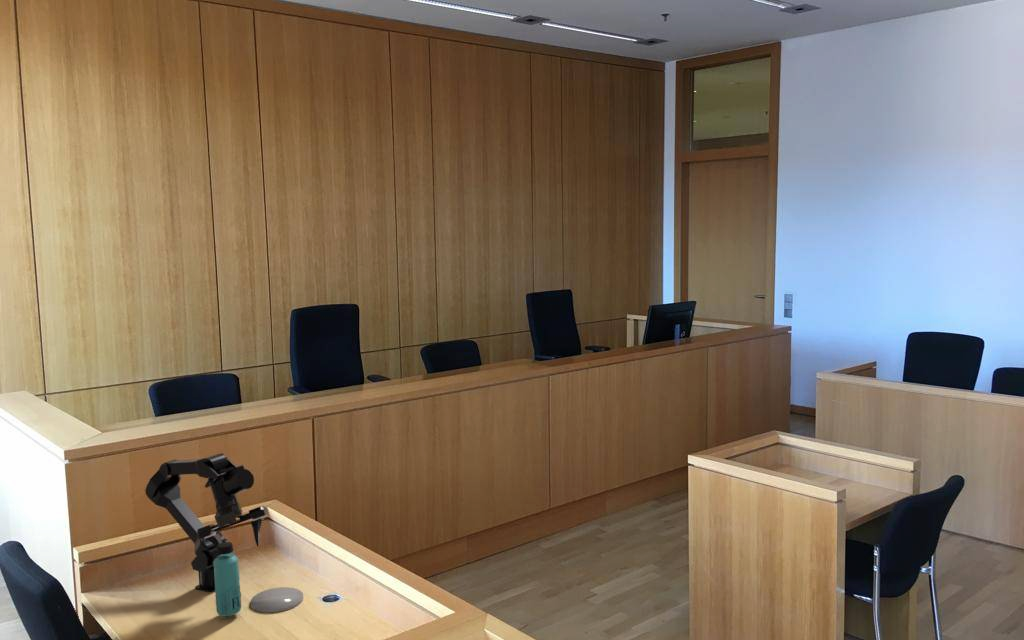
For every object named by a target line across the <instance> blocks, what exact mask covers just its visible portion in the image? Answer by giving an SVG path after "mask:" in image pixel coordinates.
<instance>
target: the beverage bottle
mask: <svg viewBox="0 0 1024 640" xmlns="http://www.w3.org/2000/svg"><path fill="white" fill-rule="evenodd" d="M233 552H234V545H233V542H230V541H226V542H223V543H220V544H218V545H217V554H221V555H219V556H218V557H217V558H216V559H215V560H214V562H213V564H214V576H215V591H214V598H215V600H214V601H215V609H216V612H217V615H219V616H222V617H228V616H229V617H230V616H232V615H236V614H238V613H239V612H240V611H241V608H242V592H241V585H240V584H241V583H240V576H241V575H240V570H239V569H240V568H239V558H238V556H237V555H235V554H234V553H233Z"/></svg>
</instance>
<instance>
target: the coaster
mask: <svg viewBox="0 0 1024 640" xmlns="http://www.w3.org/2000/svg"><path fill="white" fill-rule="evenodd" d="M303 600H304V593H303V592H302V591H301V590H300V589H298V588H295V587H290V586H289V587H288V586H285V587H284V586H281V587H273V588H269V589H265V590H263V591H260V592H259V593H256V594H255V595H253V596H252V598H251V599H250V607H251V609H253V611H256V612H259V613H264V614H265V613H266V614H273V613H281V612H284V611H285V612H286V611H288V610H291V609H293V608H296V607H297V606H299V605H300V604H301V603H302V602H303Z"/></svg>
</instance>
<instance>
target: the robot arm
mask: <svg viewBox="0 0 1024 640" xmlns="http://www.w3.org/2000/svg"><path fill="white" fill-rule="evenodd" d="M181 475H197V476H198V477H199V478H204V479H207V482H206V483H205V485H204V487H205V488H210V490H211V493H212V495H213V499H214V500H213V501H214V503H215V508H216V512H215V515H214V519H215V522H216V524H215V523H211V524H208V525H206V526H205V525H204V524H203V522H202V521H201V520H200V518H199V517H198V516H197V515H196V514H195V512H193V510H192V509H191V508H190V507H189V506H188V504H187V503H186V502H185V500H184V499H183V498H182V497H181V487H180V485H179V484H180V482H181V478H182V477H181ZM254 483H255V477H254V474H253V473H252V472H251V471H250V470H248V469H247V468H245V466H244V465H242V464H241V465H238V466H237V465H236V464H235V463H234V462H233V461H231V459H229V458H228V457H227V456H226V454H225V453H223V452H219V453H215V454H214V455H209V456H207V457H204V458H192V459H172V460H169V461H165V462H162V464H161V465H160V467H159V468H158V470H157V471H156V472H155V473H154V474H153V475H152V476H151V477H150V479H149V481H148V482H147V484H146V487H145V489H144V491H145V495H146V498H148V499H149V500H150V501H151V502H152V503H153V504H154V505H156V506H159V507H160V508H164V509H166V510H167V512H168V513H169V514H170V515H171V516H172V518H173V519H174V520H175V521H176V523H177V524H178V525H179V526H180V528H181V529H182V530H183V531H184V532H185V534H186V535H187V536H188V537H189V538H190V540H191V542H192V543H193V544H194V554H195V557H194V558H193V560H192V561H191V563H190V564H191V567H192V569H193V570H194V571H196V572H198V585H196V586H194V589H196V590H199V591H204V592H210V593H213V592H215V576H214V564H213V562H214V560H215V559H216V558H217V557H218V556H219V555H221V554H217V545H218V544H220V543H223V542H228V539H226V538H225V537H224V535H223V534H222V533H221V532H220V531H221V530H224V529H227V528H230V527H232V526H235V525H238V524H241V523H243V522H245V521H249V520H252V521H250V525H251V527H252V531H253V536H254V540H255V544H256V546H257V547H259V546H260V542H261V541H260V540H261V527H262V522H263V520H265V519H266V518H265V517H266V516H267V515H269V512H268V508H267V506H265V505H261V506H258V507H256V508H252V509H250V510H248V513H245V514H243V509H242V507H241V504H240V503H239V500H238V498H237V494H239V493H242V492H244V491H246V490H249V489H251V488H252V487H253V485H254ZM264 516H265V517H264ZM193 570H192V571H193Z"/></svg>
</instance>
